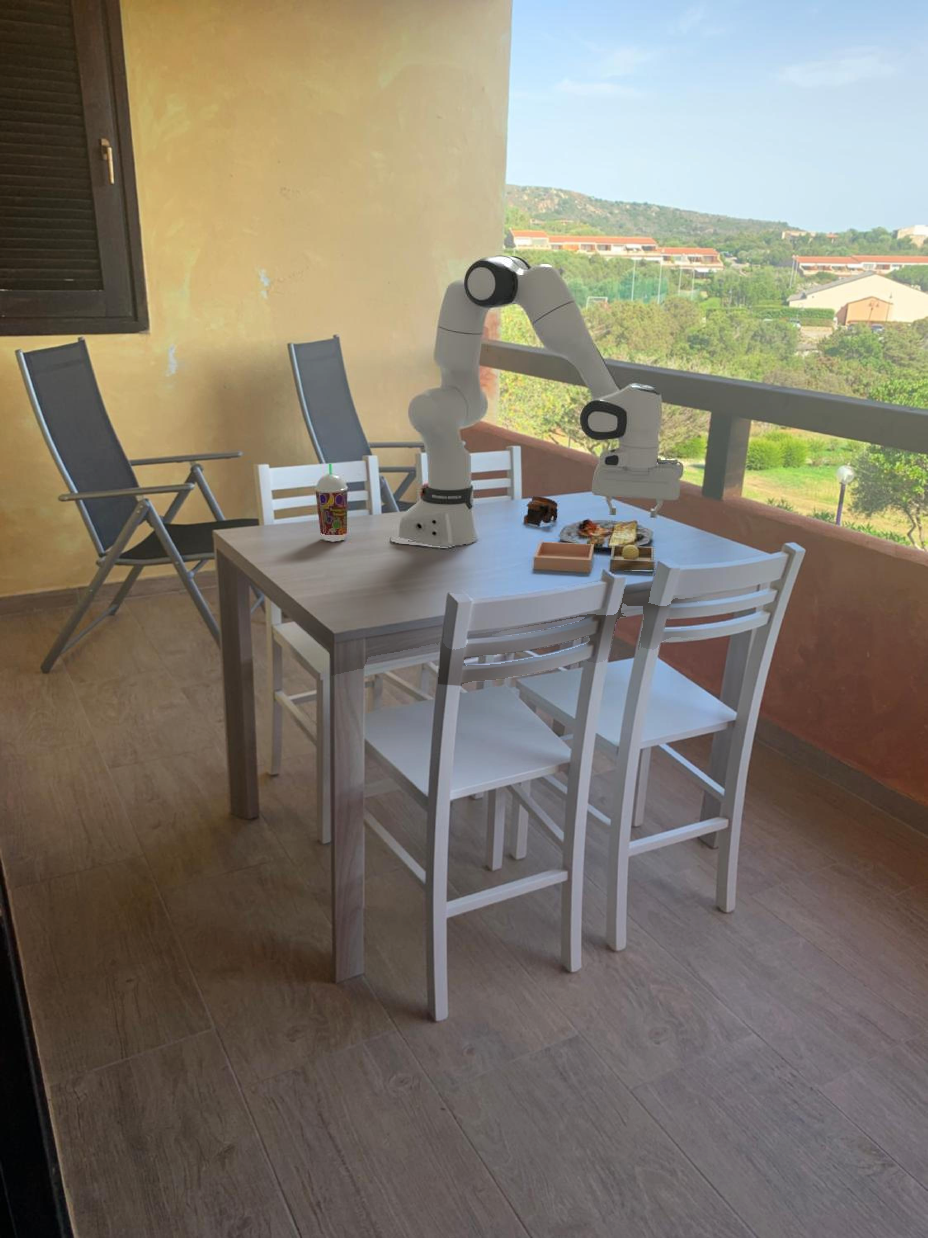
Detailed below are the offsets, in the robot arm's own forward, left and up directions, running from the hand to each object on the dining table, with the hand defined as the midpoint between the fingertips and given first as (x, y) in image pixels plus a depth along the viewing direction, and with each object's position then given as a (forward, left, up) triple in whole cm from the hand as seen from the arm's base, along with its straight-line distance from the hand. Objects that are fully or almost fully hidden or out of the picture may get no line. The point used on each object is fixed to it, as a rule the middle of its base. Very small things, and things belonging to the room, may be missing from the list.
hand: (632, 515), depth 214 cm
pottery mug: (-25, +34, -12) cm, 44 cm away
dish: (-15, -2, -12) cm, 20 cm away
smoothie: (-76, +7, -12) cm, 77 cm away
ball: (0, 0, -9) cm, 9 cm away
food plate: (-6, +20, -12) cm, 24 cm away
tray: (+1, 0, -12) cm, 12 cm away
